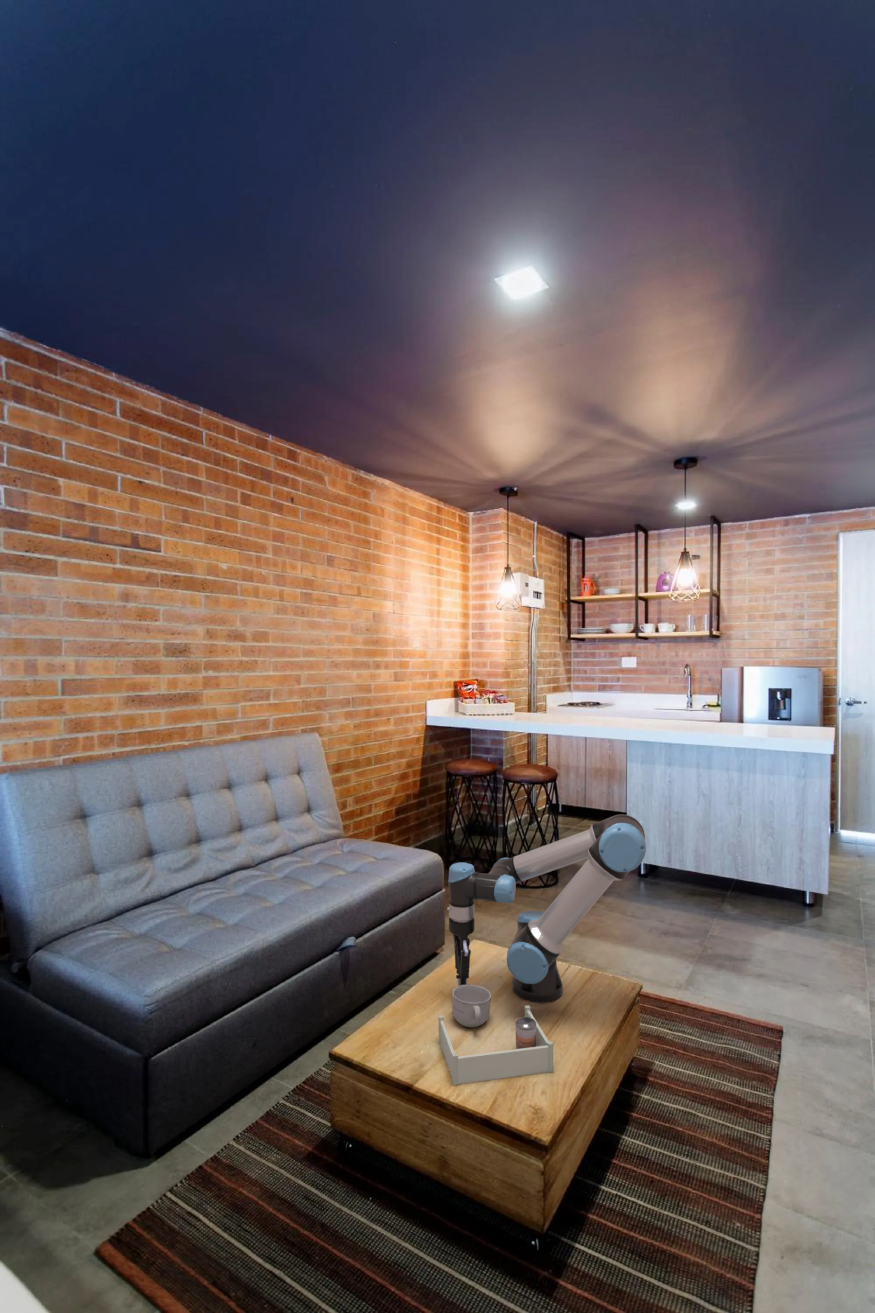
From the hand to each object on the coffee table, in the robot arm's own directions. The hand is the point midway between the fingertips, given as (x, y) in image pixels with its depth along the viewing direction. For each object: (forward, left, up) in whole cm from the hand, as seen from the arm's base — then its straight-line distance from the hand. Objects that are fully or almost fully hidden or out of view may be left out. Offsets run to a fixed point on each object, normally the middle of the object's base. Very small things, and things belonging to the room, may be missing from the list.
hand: (462, 998), depth 188 cm
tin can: (-10, +28, -1) cm, 30 cm away
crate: (-2, +27, -1) cm, 27 cm away
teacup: (0, +12, -2) cm, 12 cm away
